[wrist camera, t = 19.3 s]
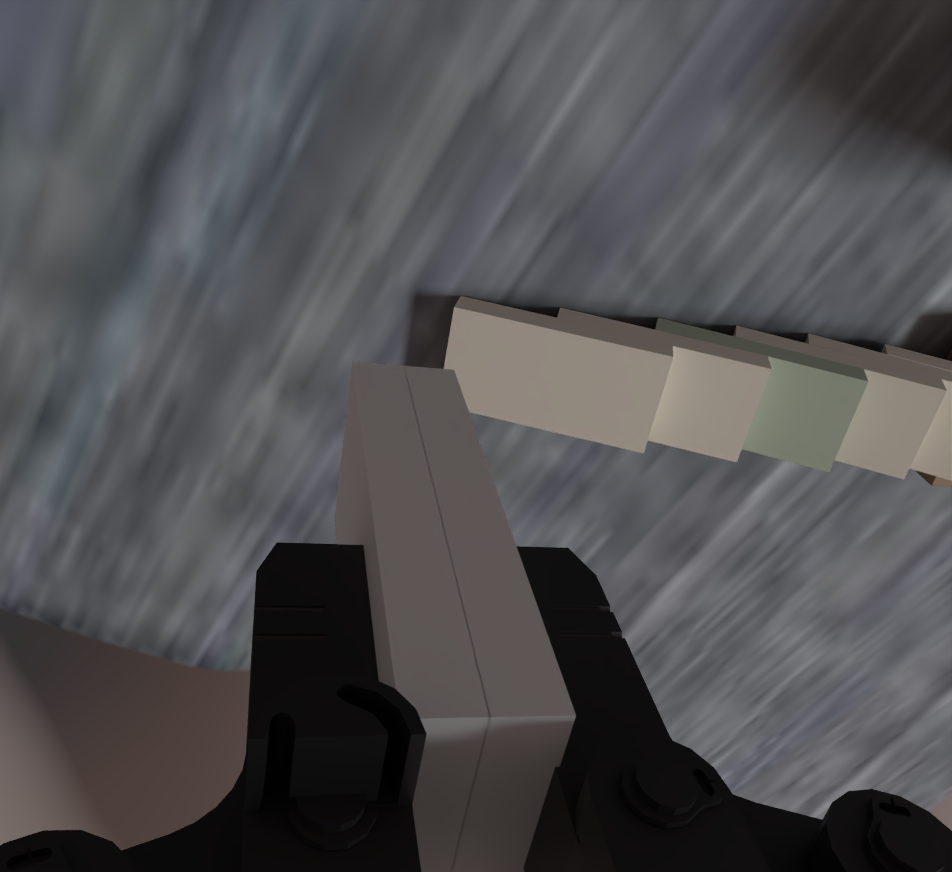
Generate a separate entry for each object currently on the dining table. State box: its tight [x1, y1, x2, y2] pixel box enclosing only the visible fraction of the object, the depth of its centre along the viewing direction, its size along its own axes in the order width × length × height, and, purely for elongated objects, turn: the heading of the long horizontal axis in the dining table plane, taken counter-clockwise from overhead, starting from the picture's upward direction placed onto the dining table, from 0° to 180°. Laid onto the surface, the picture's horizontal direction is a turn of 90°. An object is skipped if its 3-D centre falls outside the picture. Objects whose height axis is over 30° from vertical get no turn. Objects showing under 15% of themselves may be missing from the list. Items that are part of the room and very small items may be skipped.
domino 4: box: [733, 325, 947, 479], centre depth 44 cm, size 2×5×10 cm
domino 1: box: [444, 296, 673, 453], centre depth 41 cm, size 2×5×10 cm
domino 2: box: [557, 308, 771, 462], centre depth 42 cm, size 2×5×10 cm
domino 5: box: [805, 333, 952, 481], centre depth 45 cm, size 2×5×10 cm
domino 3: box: [655, 318, 869, 472], centre depth 43 cm, size 2×5×10 cm
